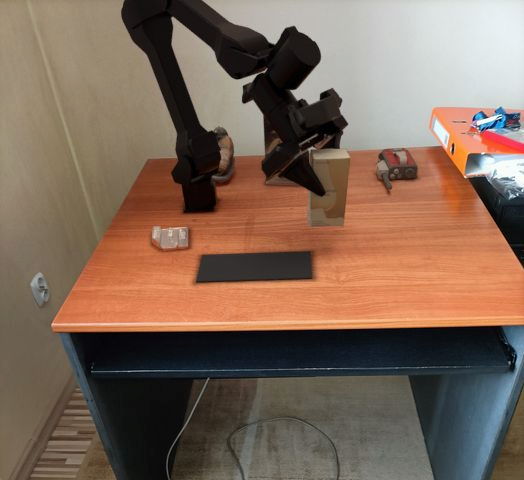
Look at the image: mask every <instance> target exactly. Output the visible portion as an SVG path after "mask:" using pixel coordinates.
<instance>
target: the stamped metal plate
mask: <svg viewBox="0 0 524 480" xmlns="http://www.w3.org/2000/svg"><path fill="white" fill-rule="evenodd" d="M189 229H190V228H189V226H183V227H173V226H169V227H167V228H162V226H161V225H153V226H152V232H151V241H152V242H151V243H152V245H154V246H155V247H157V248H159V249H160V250H161V251H163V252H165V251H175V250H184V249H189V232H190V231H189Z"/></svg>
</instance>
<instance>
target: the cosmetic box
mask: <svg viewBox="0 0 524 480" xmlns="http://www.w3.org/2000/svg"><path fill="white" fill-rule="evenodd" d="M309 163H310V166H311V167H312V169H313V170H314V172H315V174H316V175H317V177H318V179H319V180H320V182H321V184H322V185H323V187H324V190H325V192H326V194H325V195H324V196H323V197H320V196H318V195H316V194H315V193H313V192H311V191H309V190H308V189H307V190H308V193H307V209H306V211H307V214H306V217H307V223H308V226H309V228H329V227H330V228H331V227H333V228H334V227H344V225H345V217H346V208H347V207H346V205H347V197H348V187H349V177H350V165H351V155H350V153H349V150H348V148H340V149H316V148H314V149H313V148H310V150H309Z"/></svg>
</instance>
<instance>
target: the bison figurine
mask: <svg viewBox="0 0 524 480" xmlns="http://www.w3.org/2000/svg"><path fill="white" fill-rule="evenodd" d="M213 132H214V133H215V135H216V139H217V142H218V145H219V147H220V148H221V151H220V153H221V161H220V165H219V171H218V174H217V175H213V176H212V180H213V182H215V183H226V182H228V180H229V179H230V178H231V177H232V174H233V173H234V170H235V163H236V159H235V156H234V155H235V145H234V142H233V139H232V137H231V136H230V135H229V133H228V131H227V130H226V129H225V127H222V126H220V125H217V127H215V128H214V129H213Z"/></svg>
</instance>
